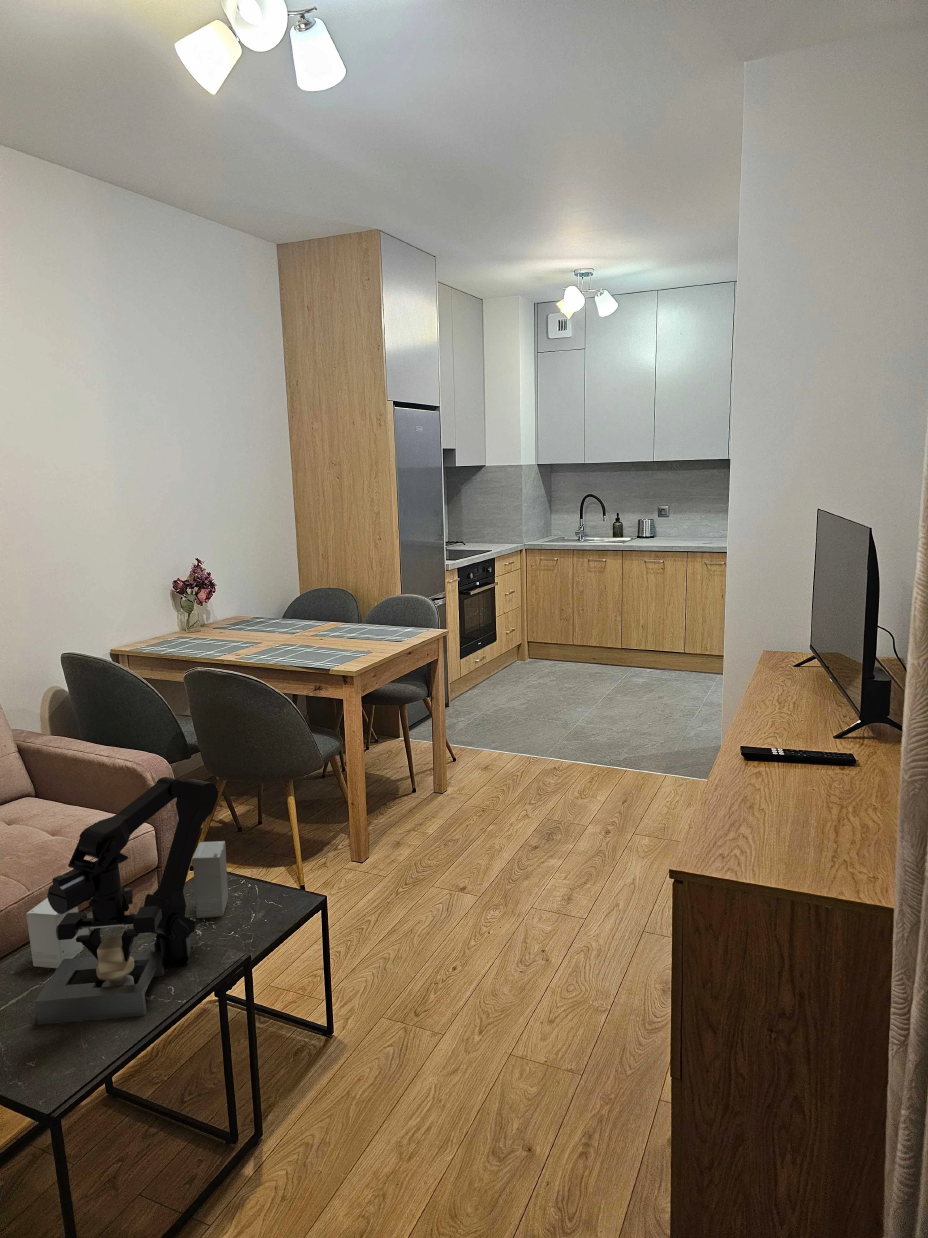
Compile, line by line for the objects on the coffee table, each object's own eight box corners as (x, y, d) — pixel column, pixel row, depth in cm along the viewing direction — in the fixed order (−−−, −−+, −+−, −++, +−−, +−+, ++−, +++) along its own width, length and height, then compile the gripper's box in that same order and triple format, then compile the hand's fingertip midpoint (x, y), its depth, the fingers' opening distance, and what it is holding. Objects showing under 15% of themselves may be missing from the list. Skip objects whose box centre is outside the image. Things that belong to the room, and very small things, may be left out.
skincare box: (202, 902, 203) (196, 841, 200) (232, 899, 203) (226, 838, 201) (195, 920, 194) (188, 857, 192) (226, 917, 195) (220, 854, 192)
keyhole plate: (164, 972, 174) (161, 951, 173) (144, 1015, 160) (141, 992, 159) (66, 981, 172) (63, 959, 172) (38, 1025, 159) (34, 1001, 158)
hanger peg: (141, 978, 170) (135, 931, 168) (131, 999, 163) (124, 951, 161) (106, 981, 169) (100, 934, 168) (94, 1003, 163) (87, 954, 161)
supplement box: (62, 969, 177) (54, 915, 174) (32, 967, 178) (24, 913, 176) (84, 950, 184) (77, 897, 181) (55, 947, 185) (48, 895, 183)
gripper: (165, 866, 171) (172, 935, 174) (72, 873, 170) (81, 943, 172) (149, 893, 160) (158, 966, 163) (50, 901, 159) (60, 975, 161)
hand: (114, 961), depth 165 cm, fingers closed on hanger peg, 4 cm apart
